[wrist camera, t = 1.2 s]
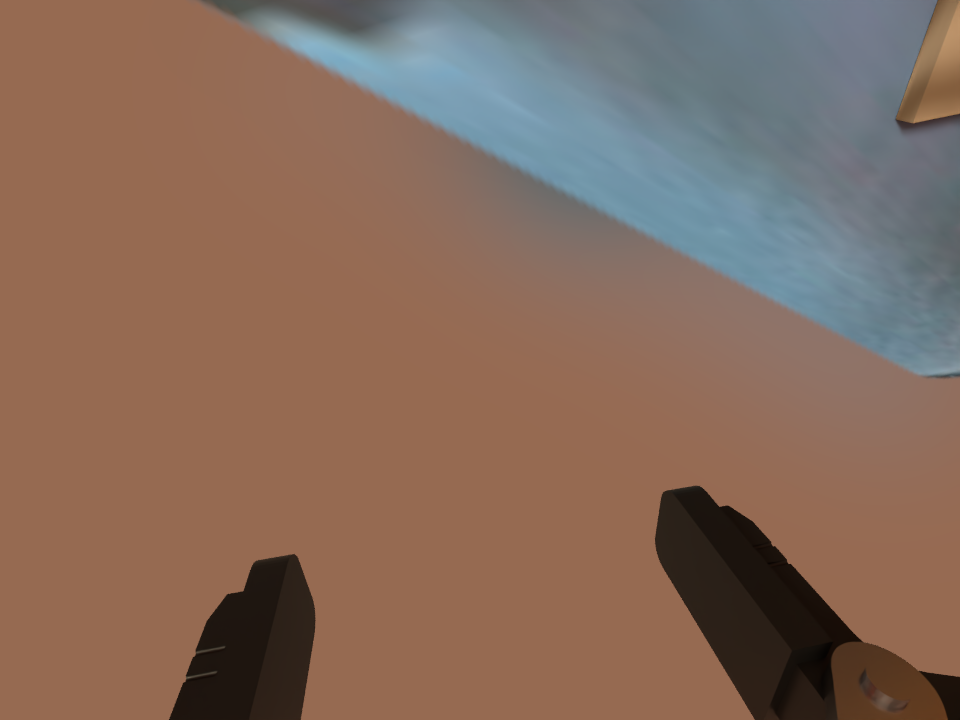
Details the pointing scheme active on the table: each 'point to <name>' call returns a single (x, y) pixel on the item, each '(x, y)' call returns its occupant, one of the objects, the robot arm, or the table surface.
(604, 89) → the table surface
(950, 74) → the base board
